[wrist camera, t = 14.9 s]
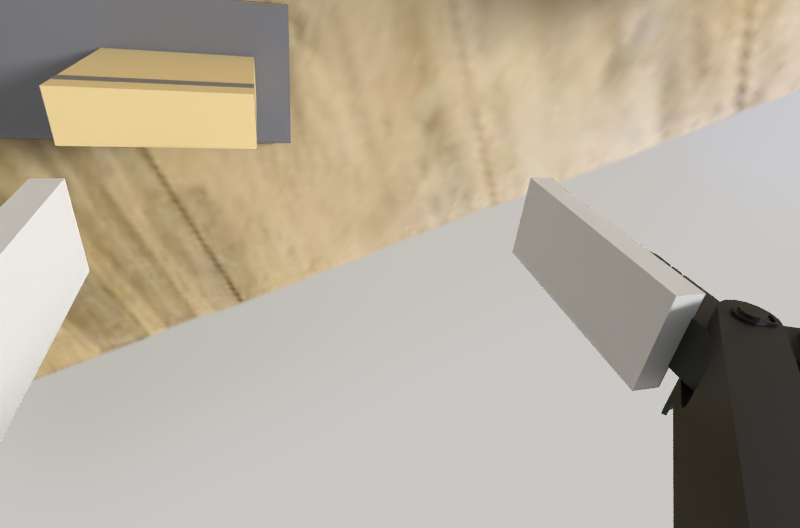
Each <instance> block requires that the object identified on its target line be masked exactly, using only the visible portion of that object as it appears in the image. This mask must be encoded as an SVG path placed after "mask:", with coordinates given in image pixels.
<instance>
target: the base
mask: <svg viewBox="0 0 800 528" xmlns="http://www.w3.org/2000/svg"><path fill="white" fill-rule="evenodd" d="M100 48H114V49H130V50H147V51H164V52H180V53H197V54H213V55H230V56H246V57H254V66H255V85H256V121H257V143H291V142H290V87H289V33H288V5H287V4H277V3H266V2H255V1H243V0H0V138H22V139H54V138H53V135H52V131H51V127H50V123H49V120H48V116H47V112H46V108H45V105H44V101H43V97H42V94H41V90H40V86H39V85H41V84H42V83H44V82H46V81H47V80H49V78H51V77H53V76H54V75H57V74H59V73H60V72H62V71H64V70H65V69H67V68H69V67H70V66H72V65H74V64H75V63H77V62H78V61H80V60H82V59H83V58H85V57H87V56H88V55H90V54H92V53H93V52H95V51H96V50H98V49H100Z"/></svg>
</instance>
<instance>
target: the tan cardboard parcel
mask: <svg viewBox="0 0 800 528" xmlns="http://www.w3.org/2000/svg"><path fill="white" fill-rule="evenodd" d="M39 86H40V90H41V94H42V97H43V101H44V105H45V108H46V112H47V116H48V120H49V123H50V127H51V131H52V135H53V138H54V142H55V146H104V147H174V148H244V149H257V121H256V85H255V66H254V57H246V56H230V55H213V54H197V53H180V52H164V51H147V50H130V49H114V48H100V49H98V50H96V51H95V52H93V53H92V54H90V55H88V56H87V57H85V58H83V59H82V60H80V61H78V62H77V63H75V64H74V65H72V66H70V67H69V68H67V69H65V70H64V71H62V72H60V73H59V74H57V75H54V76H53V77H51V78H49V80H47V81H46V82H44V83H42V84H41V85H39Z"/></svg>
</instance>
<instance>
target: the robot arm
mask: <svg viewBox="0 0 800 528" xmlns="http://www.w3.org/2000/svg"><path fill="white" fill-rule="evenodd" d="M513 253H514V255H515V256H516V257H517V258H518V259H519V260H520V261H521V263H522V264H523V265H524V266H525V267H526V268H527V270H528V271H529V272H530V273H531V274H532V275H533V277H534V278H535V279H536V280H537V281H538V282H539V283H540V285H541V286H542V287H543V288H544V289H545V290H546V291H547V293H548V294H549V295H550V296H551V297H552V298H553V300H554V301H555V302H556V303H557V304H558V305H559V307H560V308H561V309H562V310H563V311H564V312H565V313H566V315H567V316H568V317H569V318H570V319H571V320H572V322H573V323H574V324H575V325H576V326H577V327H578V329H579V330H580V331H581V332H582V333H583V334H584V335H585V337H586V338H587V339H588V340H589V341H590V342H591V344H592V345H593V346H594V347H595V348H596V349H597V350H598V352H599V353H600V354H601V355H602V356H603V357H604V358H605V360H606V361H607V362H608V363H609V364H610V365H611V367H612V368H613V369H614V370H615V371H616V372H617V374H618V375H619V376H620V377H621V378H622V379H623V380H624V382H625V383H626V384H627V385H628V386H629V387H630V389H631V390H632V391H634V390H641V389H649V388H656V387H659V386H660V384H661V382H662V380H663V378H664V376H665V374H666V372H667V370H668V368H670V369H671V370H672V371H673V372H674V373H675V374H676V375H677V376H678V377H679V379H678V381H677V383H676V385H675V387H674V389H673V391H672V393H671V395H670V396H669V398H668V400H667V402H666V404H665V406H664V408H663V411H662V414H664V415H667V413H668V411H669V410H670V409H673V444H674V445H673V460H674V461H673V466H674V468H673V470H674V471H673V484H674V486H673V488H674V528H800V328H793V327H786V326H783V325H782V323H781V322H780V321H779V319H777V318H776V317H775V316H774V315H772V314H771V313H769V312H767V311H765V310H764V309H762V308H760V307H757V306H755V305H752V304H749V303H747V302H742V301H737V300H724V301H721V302H719V301H718V300H717V299H715V298H714V297H713V296H711V295H710V294H709V293H707V292H706V291H705V290H703V289H702V288H701V287H699V286H698V285H696V284H695V283H694V282H693V281H691V280H690V279H689V278H687V277H686V276H682V273H681V272H679V271H678V270H677V269H675V268H674V267H671V266H670V264H668V263H667V262H666V261H664V260H663V259H662V258H661V257H659V256H658V255H656V254H654V253H652V252H650V251H648V250H647V249H646V248H644V247H643V246H642V245H640V244H639V243H638V242H636V241H635V240H634V239H632V238H631V237H630V236H628V235H627V234H626V233H624V232H623V231H622V230H620V229H619V228H618V227H616V226H615V225H614V224H612V223H611V222H610V221H608V220H607V219H606V218H605V217H603V216H602V215H601V214H599V213H598V212H597V211H595V210H594V209H592V208H591V207H590V206H589V205H587V204H586V203H584V202H583V201H582V200H581V199H579V198H578V197H577V196H575V195H574V194H573V193H571V192H570V191H569V190H567V189H566V188H564V187H563V186H562V185H561V184H559V183H558V182H557V181H555V180H554V179H553V178H531V179H530V183H529V187H528V191H527V196H526V200H525V204H524V208H523V212H522V216H521V220H520V224H519V229H518V232H517V237H516V240H515V245H514V249H513ZM88 273H89V268H88V264H87V260H86V257H85V253H84V249H83V245H82V242H81V238H80V234H79V231H78V227H77V223H76V219H75V216H74V212H73V208H72V205H71V201H70V197H69V193H68V190H67V186H66V182H65V178H29V179H28V180H27V181H26V182H25V183H24V184H23V185H22V186H21V187H20V188H19V189H18V190H17V191H16V192H15V193H14V194H13V195H12V196H11V197H10V198H9V199H8V200H7V201H6V202H5V203H4V204H3V205H2V206H1V207H0V442H1V440H2V438H3V436H4V434H5V432H6V430H7V428H8V426H9V424H10V422H11V420H12V419H13V417H14V414H15V413H16V411H17V409H18V407H19V405H20V403H21V401H22V399H23V397H24V396H25V394H26V392H27V390H28V388H29V386H30V384H31V382H32V380H33V378H34V376H35V374H36V372H37V371H38V369H39V367H40V365H41V363H42V361H43V359H44V357H45V355H46V353H47V351H48V349H49V347H50V346H51V344H52V342H53V340H54V338H55V336H56V334H57V332H58V330H59V328H60V326H61V324H62V323H63V321H64V319H65V317H66V315H67V313H68V311H69V309H70V307H71V305H72V303H73V301H74V299H75V298H76V296H77V294H78V292H79V290H80V288H81V286H82V284H83V282H84V280H85V278H86V276H87V274H88Z"/></svg>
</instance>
